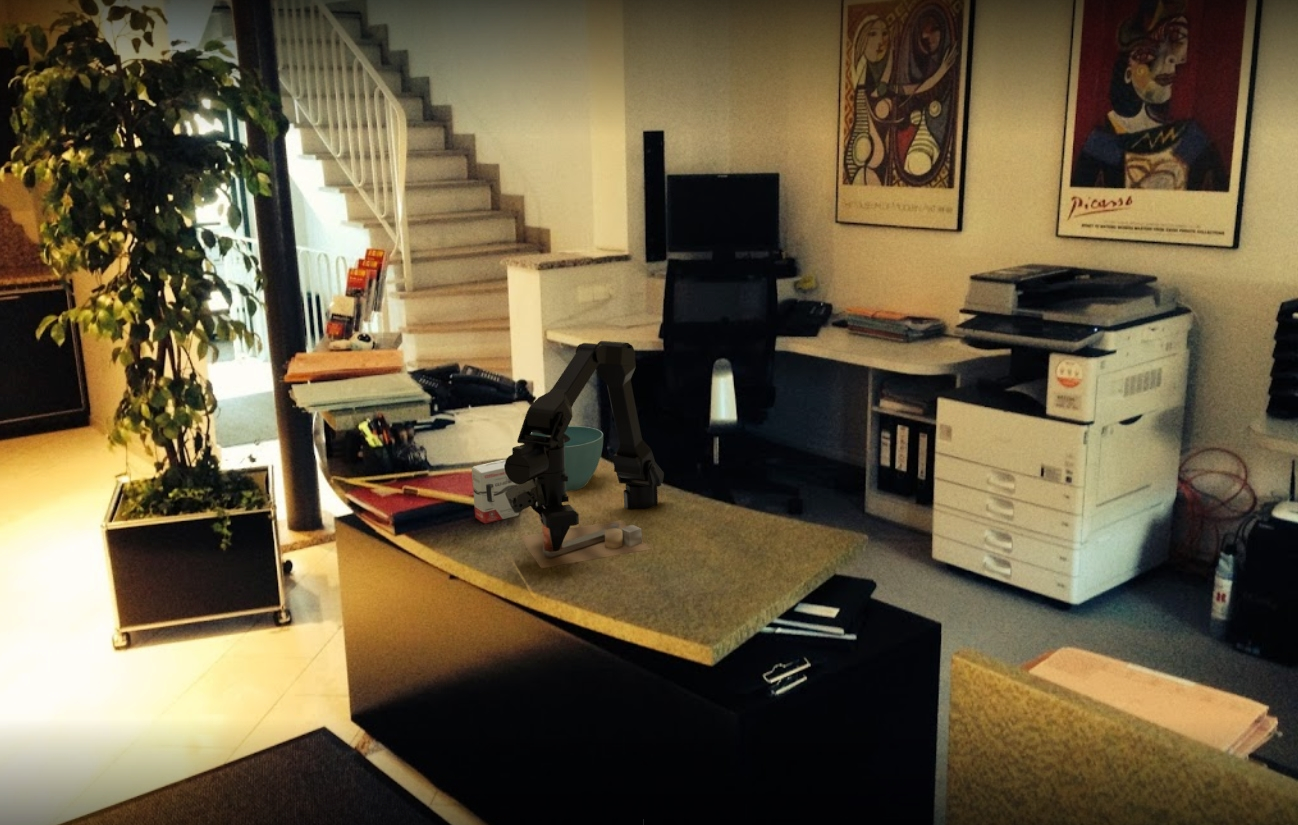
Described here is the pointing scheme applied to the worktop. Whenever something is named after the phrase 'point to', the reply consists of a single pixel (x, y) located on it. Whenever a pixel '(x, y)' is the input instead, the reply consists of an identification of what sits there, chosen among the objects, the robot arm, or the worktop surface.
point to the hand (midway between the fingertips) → (552, 545)
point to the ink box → (491, 492)
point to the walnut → (613, 538)
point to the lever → (570, 542)
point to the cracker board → (593, 551)
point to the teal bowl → (581, 455)
